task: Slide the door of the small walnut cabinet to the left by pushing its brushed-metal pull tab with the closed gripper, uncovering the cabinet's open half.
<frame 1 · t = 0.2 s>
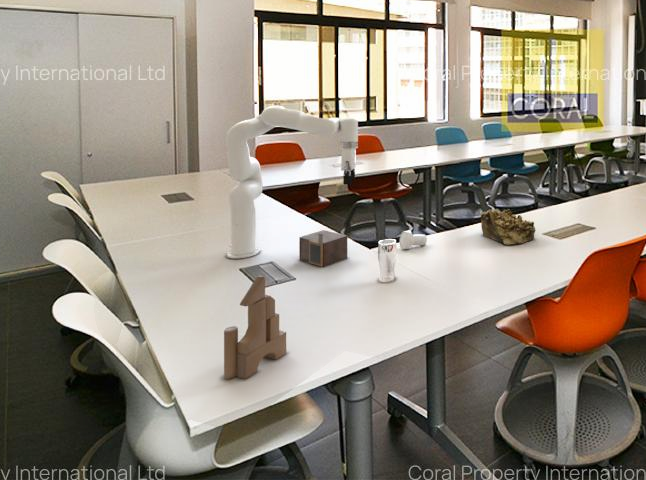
hand: (349, 182, 244), 31 cm above the table, tool pointing down, fingers open, 9 cm apart
mineral: (507, 237, 264), on the table
beer glass: (387, 280, 209), on the table
sliding door: (315, 248, 223), point 7 cm above the table, slide at 0.0 cm
spotlight: (412, 247, 247), on the table
wooden toy: (255, 365, 148), on the table
cabinet: (323, 259, 231), on the table
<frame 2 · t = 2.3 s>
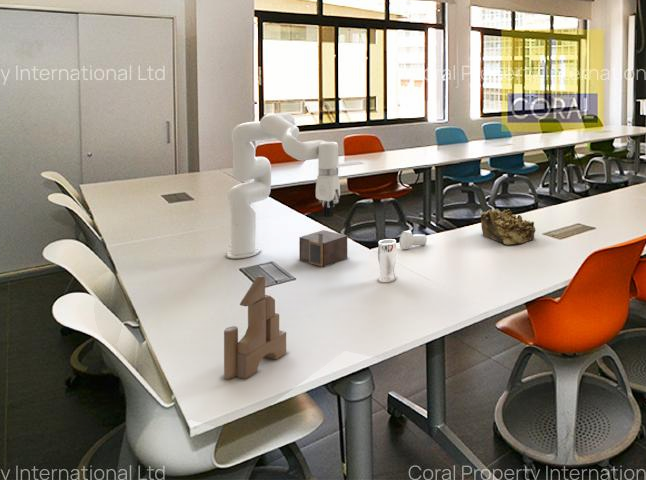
hand: (328, 216, 219), 22 cm above the table, tool pointing down, fingers closed
nothing on the table moved.
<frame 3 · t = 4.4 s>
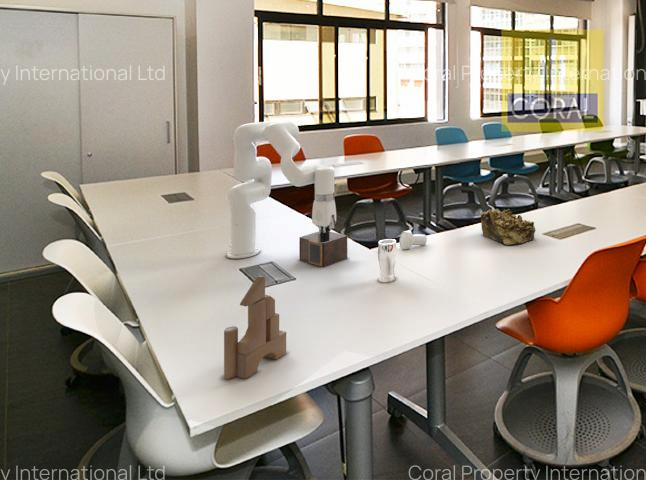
hand: (324, 241, 220), 11 cm above the table, tool pointing down, fingers closed
sliding door: (315, 248, 223), point 7 cm above the table, slide at 0.3 cm, touching gripper
everything else where it was.
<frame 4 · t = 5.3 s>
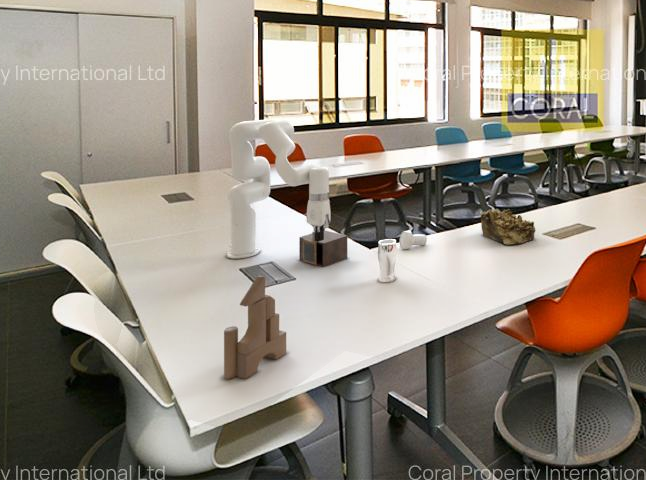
hand: (319, 240, 222), 11 cm above the table, tool pointing down, fingers closed
sliding door: (309, 246, 225), point 7 cm above the table, slide at 4.0 cm, touching gripper
everything else where it was.
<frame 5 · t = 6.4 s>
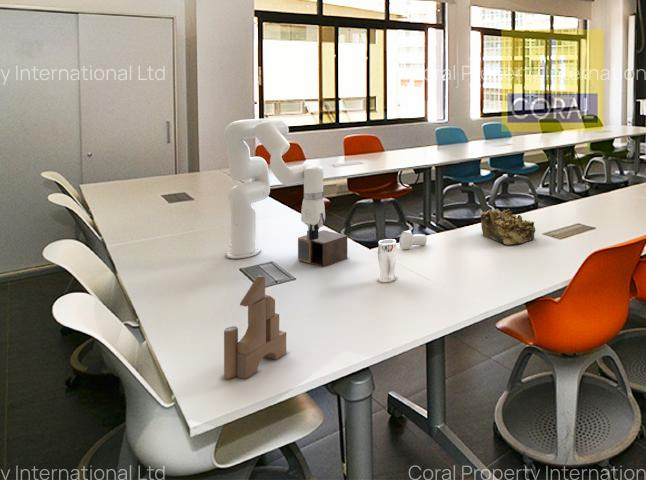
hand: (313, 239, 224), 11 cm above the table, tool pointing down, fingers closed
sliding door: (304, 245, 227), point 7 cm above the table, slide at 7.5 cm, touching gripper
everything else where it was.
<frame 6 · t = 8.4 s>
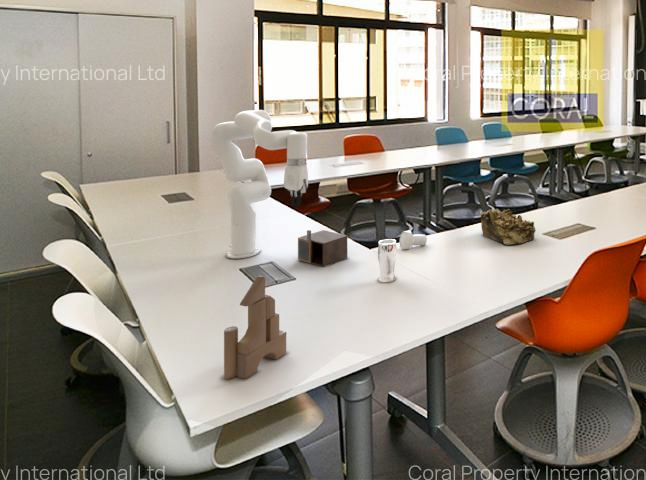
hand: (296, 205, 222), 26 cm above the table, tool pointing down, fingers closed
sliding door: (304, 245, 227), point 7 cm above the table, slide at 7.5 cm
everything else where it was.
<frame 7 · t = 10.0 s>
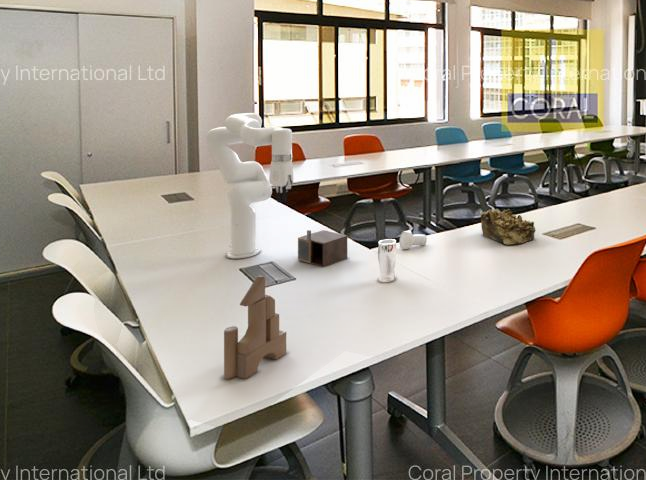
hand: (282, 201, 222), 27 cm above the table, tool pointing down, fingers closed
nothing on the table moved.
at the end: sliding door slide at 7.5 cm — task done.
